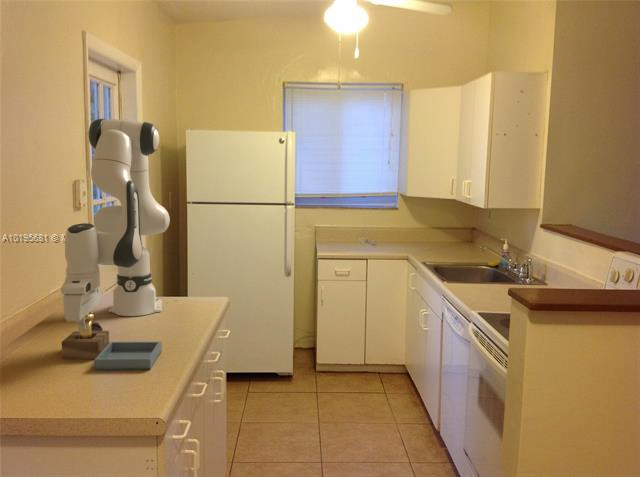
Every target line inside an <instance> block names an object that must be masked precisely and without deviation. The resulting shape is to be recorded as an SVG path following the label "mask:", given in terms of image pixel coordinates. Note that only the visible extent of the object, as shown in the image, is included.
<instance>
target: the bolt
mask: <svg viewBox="0 0 640 477" xmlns="http://www.w3.org/2000/svg"><path fill="white" fill-rule="evenodd" d="M91 331H104V330H103V328H102V326H101V325H100V323H99V322H94V321H92V324H91Z"/></svg>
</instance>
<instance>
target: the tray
mask: <svg viewBox="0 0 640 477" xmlns="http://www.w3.org/2000/svg"><path fill="white" fill-rule="evenodd" d="M162 344H163V343H162V341H109V344H108V345H107V346H106V347H105V349H104V350H103V351H102V352H101V353H100V354H99V355H98V356H97V357H96V358H95V359H94V371H151V370H152V368H153V366H154V365H155V363H156V362H157V360H158V359H159V357H160V355H161V353H162V351H163V350H162Z"/></svg>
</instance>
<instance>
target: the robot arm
mask: <svg viewBox="0 0 640 477" xmlns="http://www.w3.org/2000/svg"><path fill="white" fill-rule="evenodd" d="M88 141H89V144H90V146H91V147H92V148H93V149H94V154H93V158H92V164H91V168H90V169H91V170H90V177H91V180H92V182H93V184H94V186H95V187H96V188H97V189H98V190H100V191H101V192H103V193H104V194H106V195H109V196H111V197H113V198H115V199H117V200H118V201H119V202H120V205H109V206H105V207H100V208H99V209H97V211H96V212H95V214H94V218H93V224H92V223H85V222H83V223H78V224H73V225H71V226H69V227H68V228H67V229H66V231H65V239H64V257H65V260H66V268H65V279H64V282H63V284H61V287H60V291H61V292H60V293H61V295H63V298H62V301H63V304H62V305H63V312H64V318H65V320H66V321H67V323H68V322H69V323H77V326H78V327H77V328H78V331H85V330H86V329H87V327H86V326H87V325H86V324H85V316H86V315H88V314H89V313H90V312H92V313H94V310H95V309H96V308H97V307H98V306H100V305H101V303H102V291H101V289H102V288H101V276H100V267H99V265H102V266H116V267H117V271H118V272H117V274H116V283H117V286H116V287H115V288H114V289H113V290H112V291H113V292H112V294H113V296H112V298H113V299H112V307H110V308H109V309H108V312H109V313H113V314H115V315H117V316H123V317H141V316H146V315H150V314H154V313H160V312H162V311H163V300H162V299H161V298H158V297H157V291H156V290H157V289H156V287H155V285H154V284H153V283H152V282H153V275H152V274H153V273H152V270H151V262H150V261H151V260H150V258H151V257H150V252H149V251H148V249H146V248H145V247H144V246H143V242H142V236H153V235H158V234H163V233H165V232H166V231H167V230H168V229H169V226H170V222H171V221H170V220H171V218H170V214H169V212H168V210H167V209H166V208H165V207H164V206H162V205H161V204H160V203H159V202H158V201H157V200H156V198H154V196H153V194H152V192H151V188H150V178H149V176H150V174H149V172H150V171H149V170H150V169H149V168H150V167H149V166H150V165H149V156H150V155H152V154H154V153H155V152H156V151H157V150H158V146H159V144H160V134H159V129H158V128H157V127H156V125H155V124H154V123H150V122H147V121H144V122H143V121H138V120H133V119H132V120H131V119H109V118H108V119H106V118H98V119H94V121H92V122H91V123H90V124H89V129H88ZM92 323H93V319H91V324H92Z"/></svg>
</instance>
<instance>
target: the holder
mask: <svg viewBox="0 0 640 477" xmlns="http://www.w3.org/2000/svg"><path fill="white" fill-rule="evenodd" d="M109 343H110V330H102V331H92V339H80V331H79V330H74V331H72V332H71V333H70V334H69V335H68V336H67V337H65V338H64V339H63V340H62V341H61V358H62V360H93V359H94V360H95V358H96V357H97V356H98V355H99V354H100V353H101V352H102V351H103V350H104V349H105V347H106V346H107V345H108V344H109Z"/></svg>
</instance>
